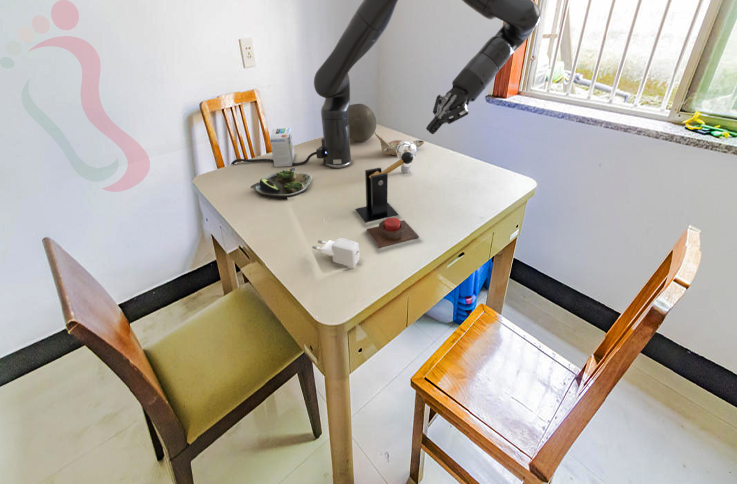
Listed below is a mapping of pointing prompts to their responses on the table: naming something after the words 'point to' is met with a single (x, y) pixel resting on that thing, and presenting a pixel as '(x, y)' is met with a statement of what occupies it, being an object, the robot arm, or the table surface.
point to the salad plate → (283, 184)
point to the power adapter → (341, 251)
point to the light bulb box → (282, 147)
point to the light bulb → (406, 147)
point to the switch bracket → (376, 197)
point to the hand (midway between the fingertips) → (429, 131)
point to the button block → (391, 234)
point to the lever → (397, 163)
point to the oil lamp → (394, 145)
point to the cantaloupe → (361, 122)
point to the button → (392, 224)
